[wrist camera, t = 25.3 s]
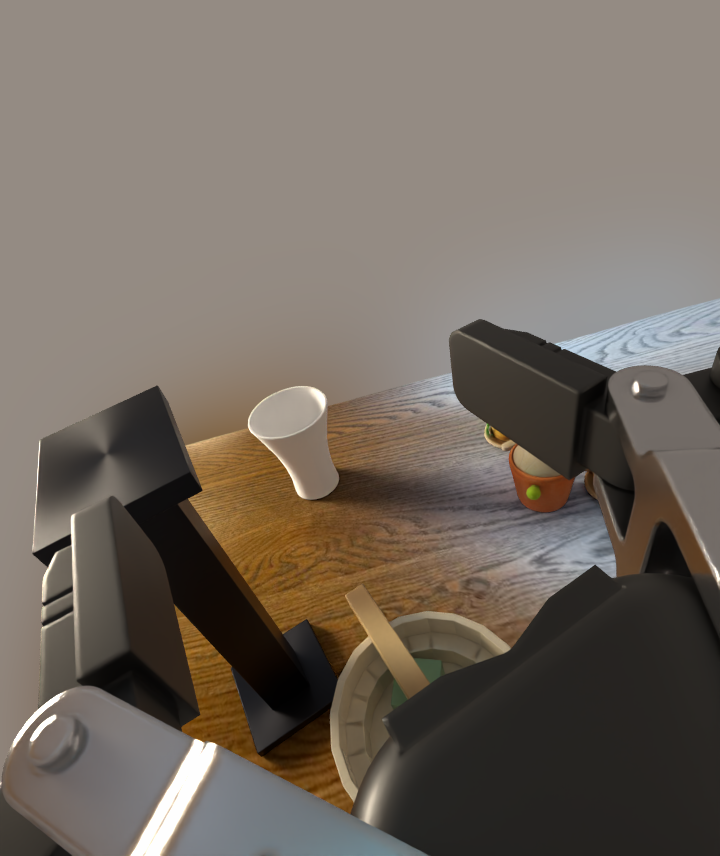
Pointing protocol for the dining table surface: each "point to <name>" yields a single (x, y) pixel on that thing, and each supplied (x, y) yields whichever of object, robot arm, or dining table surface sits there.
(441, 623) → the bowl
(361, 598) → the rectangular bar
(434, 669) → the block
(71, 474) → the stand
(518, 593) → the dining table surface
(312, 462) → the cup
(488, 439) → the toy tea set
